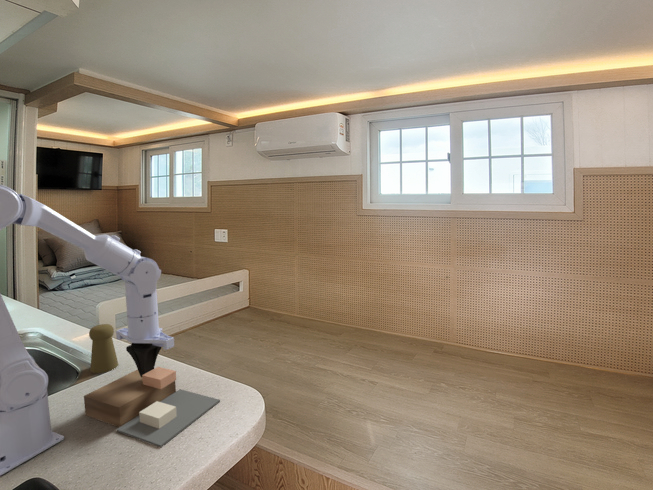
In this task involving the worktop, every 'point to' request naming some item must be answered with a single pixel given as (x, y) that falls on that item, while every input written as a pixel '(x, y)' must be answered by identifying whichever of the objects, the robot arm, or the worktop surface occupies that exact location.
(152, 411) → the cream tile
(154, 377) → the terracotta tile
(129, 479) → the worktop surface
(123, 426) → the rubber mat
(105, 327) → the olive tall rounded piece
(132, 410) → the walnut board
